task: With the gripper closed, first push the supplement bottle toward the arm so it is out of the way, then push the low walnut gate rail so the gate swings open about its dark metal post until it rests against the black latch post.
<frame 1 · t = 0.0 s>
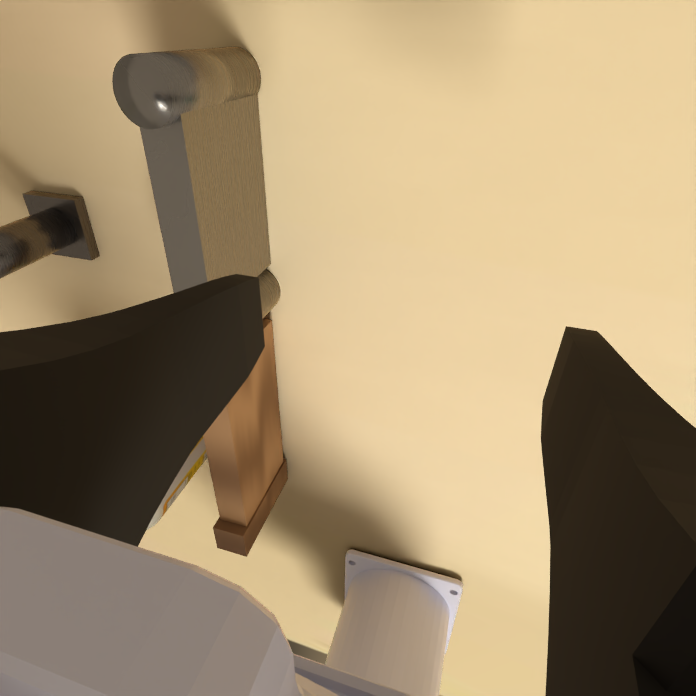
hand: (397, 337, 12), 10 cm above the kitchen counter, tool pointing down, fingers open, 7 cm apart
gate: (244, 438, 26), point 3 cm above the kitchen counter, hinge at 0.0°
latch post: (66, 224, 26), on the kitchen counter
supplement bottle: (188, 411, 32), on the kitchen counter
fence: (258, 287, 24), on the kitchen counter
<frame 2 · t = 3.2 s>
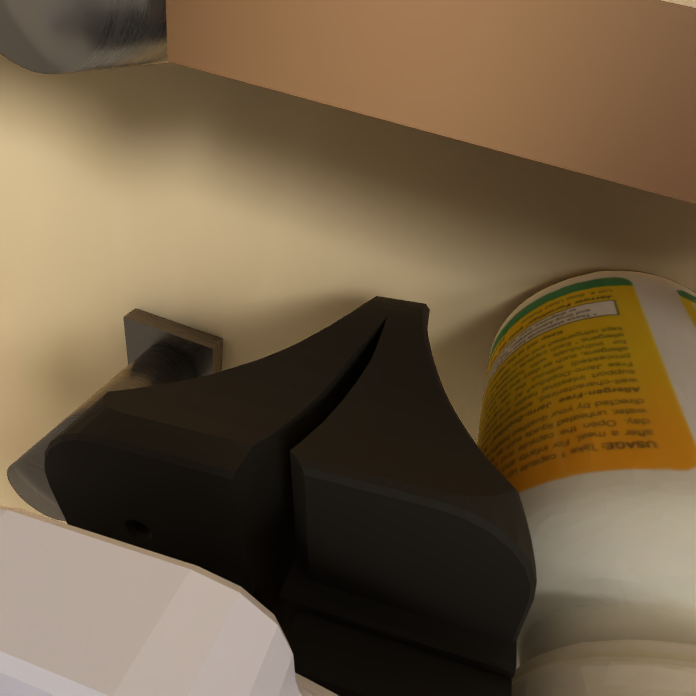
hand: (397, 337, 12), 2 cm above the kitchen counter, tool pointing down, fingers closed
gate: (650, 90, 7), point 3 cm above the kitchen counter, hinge at 0.0°
latch post: (179, 361, 17), on the kitchen counter
supplement bottle: (595, 356, 13), on the kitchen counter, touching gripper
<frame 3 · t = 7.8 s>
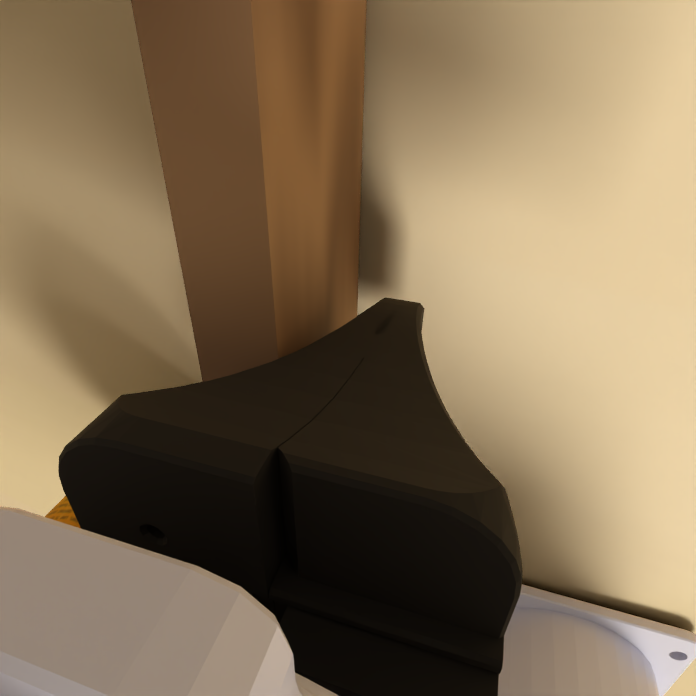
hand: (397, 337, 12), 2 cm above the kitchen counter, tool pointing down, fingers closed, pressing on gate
gate: (288, 310, 11), point 3 cm above the kitchen counter, hinge at 0.0°, touching gripper
supplement bottle: (215, 442, 19), on the kitchen counter
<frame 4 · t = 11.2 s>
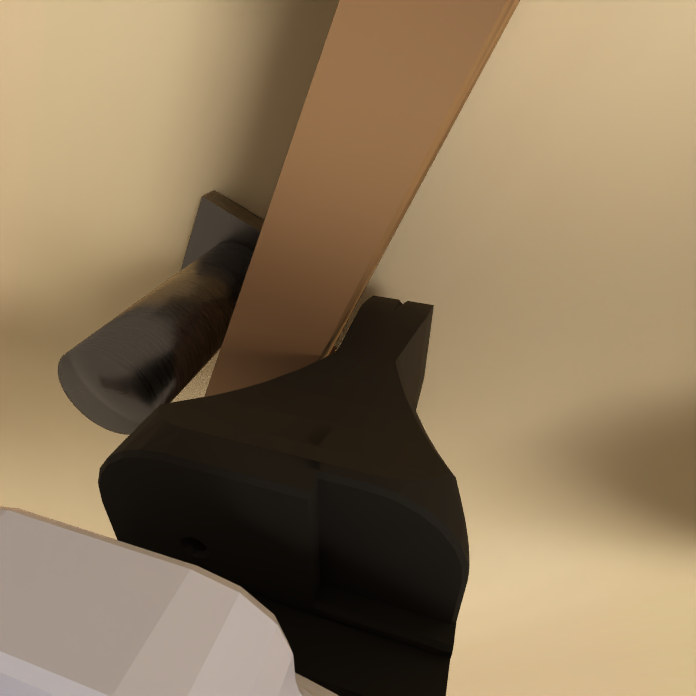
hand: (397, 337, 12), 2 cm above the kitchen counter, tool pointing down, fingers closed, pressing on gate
gate: (332, 253, 9), point 3 cm above the kitchen counter, hinge at 87.6°, touching gripper, latch post
latch post: (247, 267, 14), on the kitchen counter
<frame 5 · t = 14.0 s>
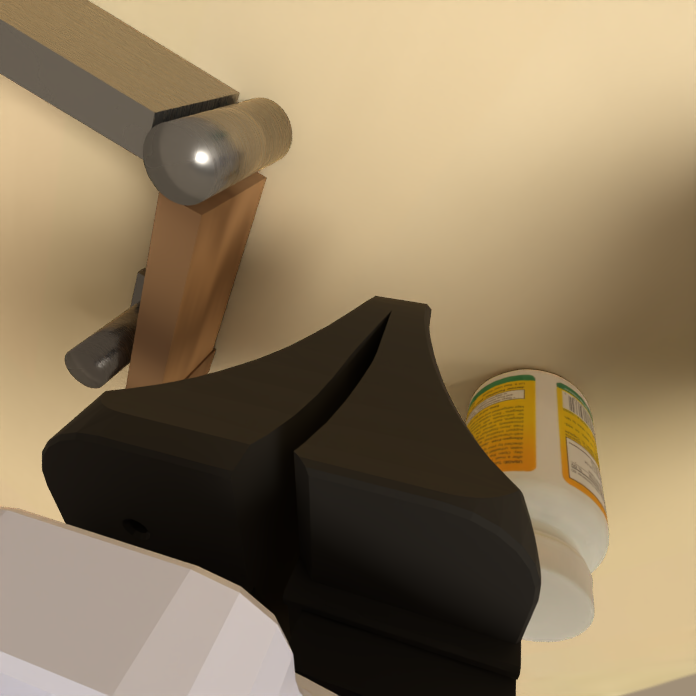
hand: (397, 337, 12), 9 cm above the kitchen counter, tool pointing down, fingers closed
gate: (185, 307, 21), point 3 cm above the kitchen counter, hinge at 87.6°, touching latch post
latch post: (166, 306, 26), on the kitchen counter
supplement bottle: (526, 409, 23), on the kitchen counter
fence: (264, 131, 19), on the kitchen counter
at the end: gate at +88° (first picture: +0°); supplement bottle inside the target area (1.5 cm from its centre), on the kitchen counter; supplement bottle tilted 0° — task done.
